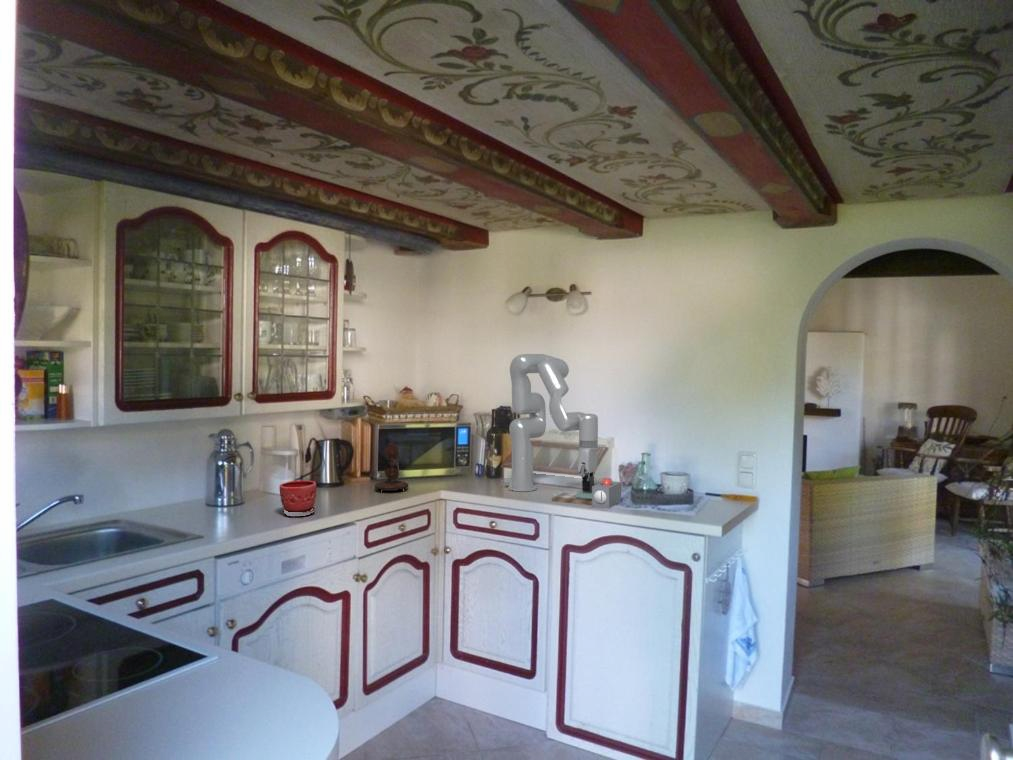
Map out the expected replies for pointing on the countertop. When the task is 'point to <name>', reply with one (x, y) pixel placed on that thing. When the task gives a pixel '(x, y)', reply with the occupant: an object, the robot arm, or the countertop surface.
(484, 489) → the countertop surface
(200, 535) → the countertop surface
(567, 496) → the rail board
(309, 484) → the plant pot
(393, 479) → the dark wooden figurine
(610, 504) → the gauge cabinet
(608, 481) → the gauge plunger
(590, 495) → the carriage
